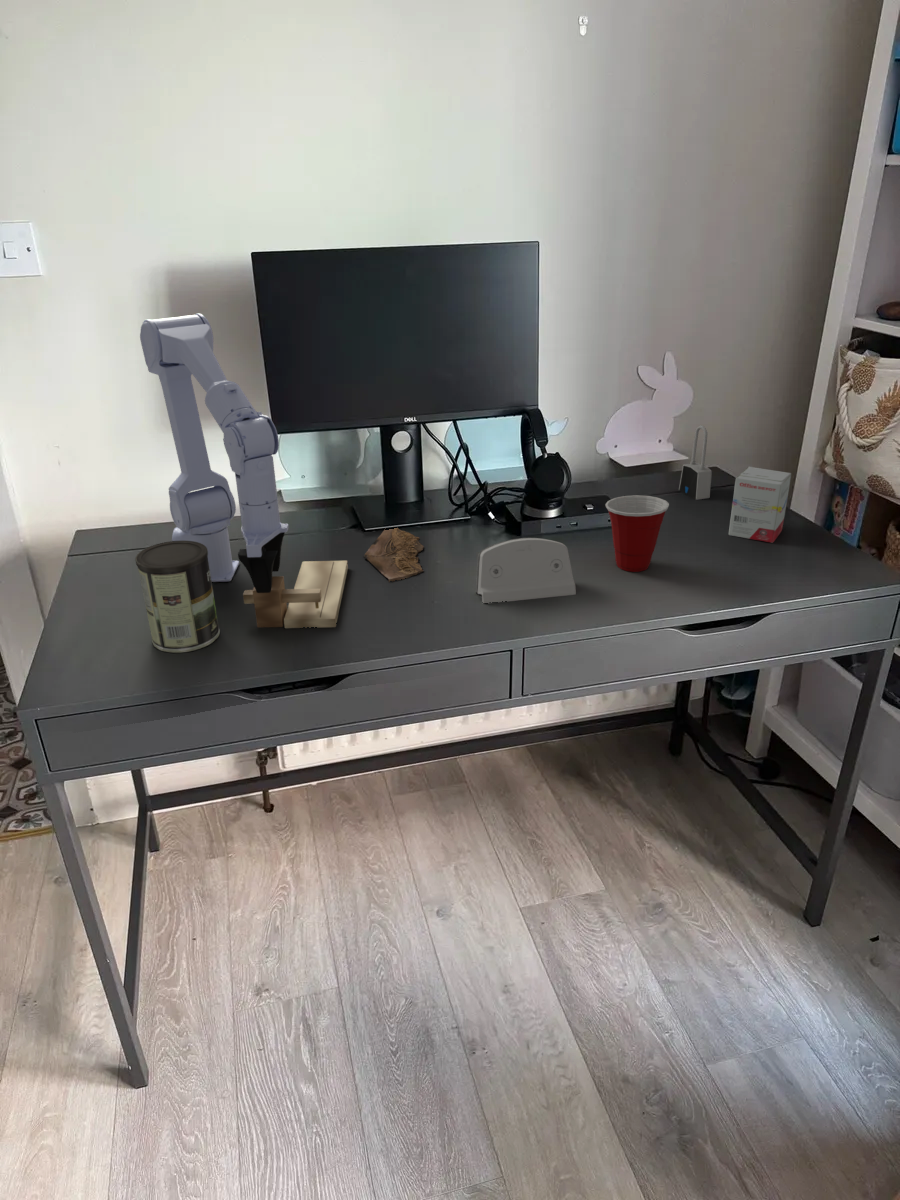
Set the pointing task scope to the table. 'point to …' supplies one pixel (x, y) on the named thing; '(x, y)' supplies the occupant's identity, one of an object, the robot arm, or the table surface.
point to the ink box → (759, 504)
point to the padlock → (696, 473)
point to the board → (331, 584)
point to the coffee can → (178, 595)
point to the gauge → (278, 602)
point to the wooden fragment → (395, 554)
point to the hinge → (524, 570)
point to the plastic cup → (635, 529)
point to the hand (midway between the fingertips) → (268, 581)
